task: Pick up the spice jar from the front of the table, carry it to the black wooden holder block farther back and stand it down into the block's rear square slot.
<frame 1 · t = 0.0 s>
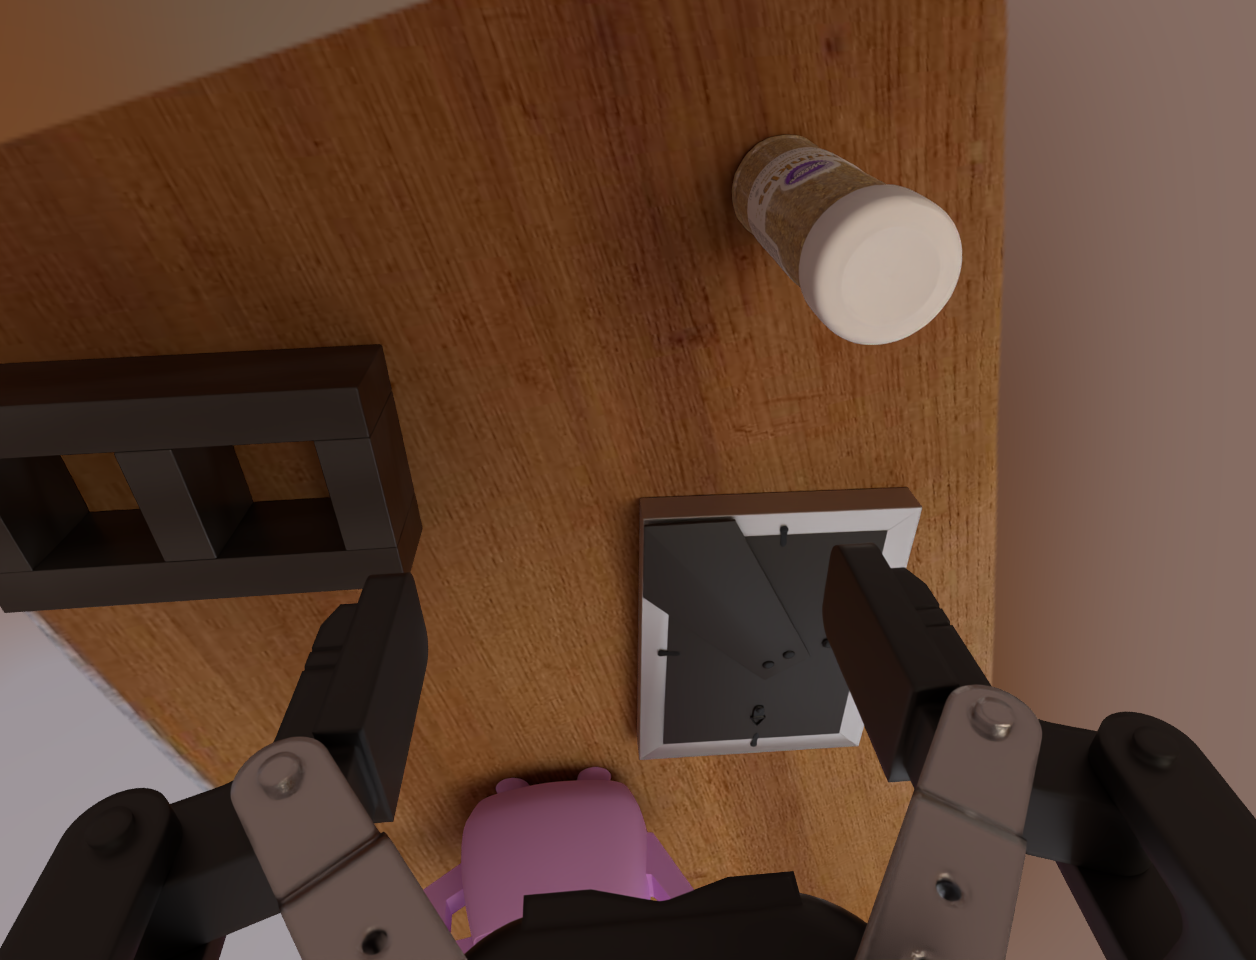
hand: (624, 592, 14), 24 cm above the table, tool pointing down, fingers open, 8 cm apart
picture frame: (757, 622, 47), on the table
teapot: (563, 804, 57), on the table
holder: (211, 454, 38), on the table
spice jar: (777, 187, 33), on the table
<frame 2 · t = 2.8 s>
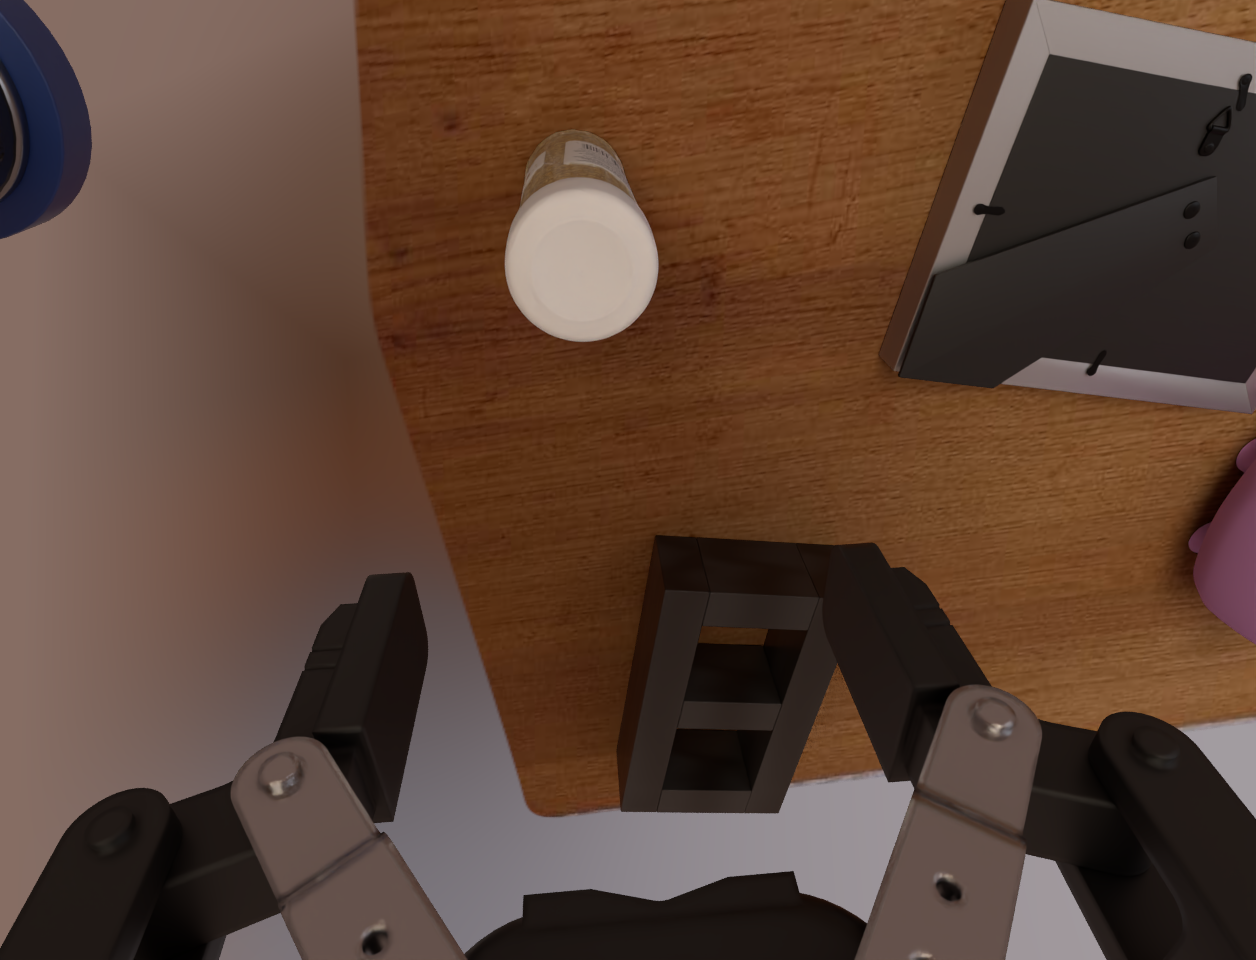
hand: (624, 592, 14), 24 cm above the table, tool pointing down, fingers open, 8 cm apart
picture frame: (1129, 228, 35), on the table
holder: (715, 657, 49), on the table
spice jar: (576, 183, 32), on the table
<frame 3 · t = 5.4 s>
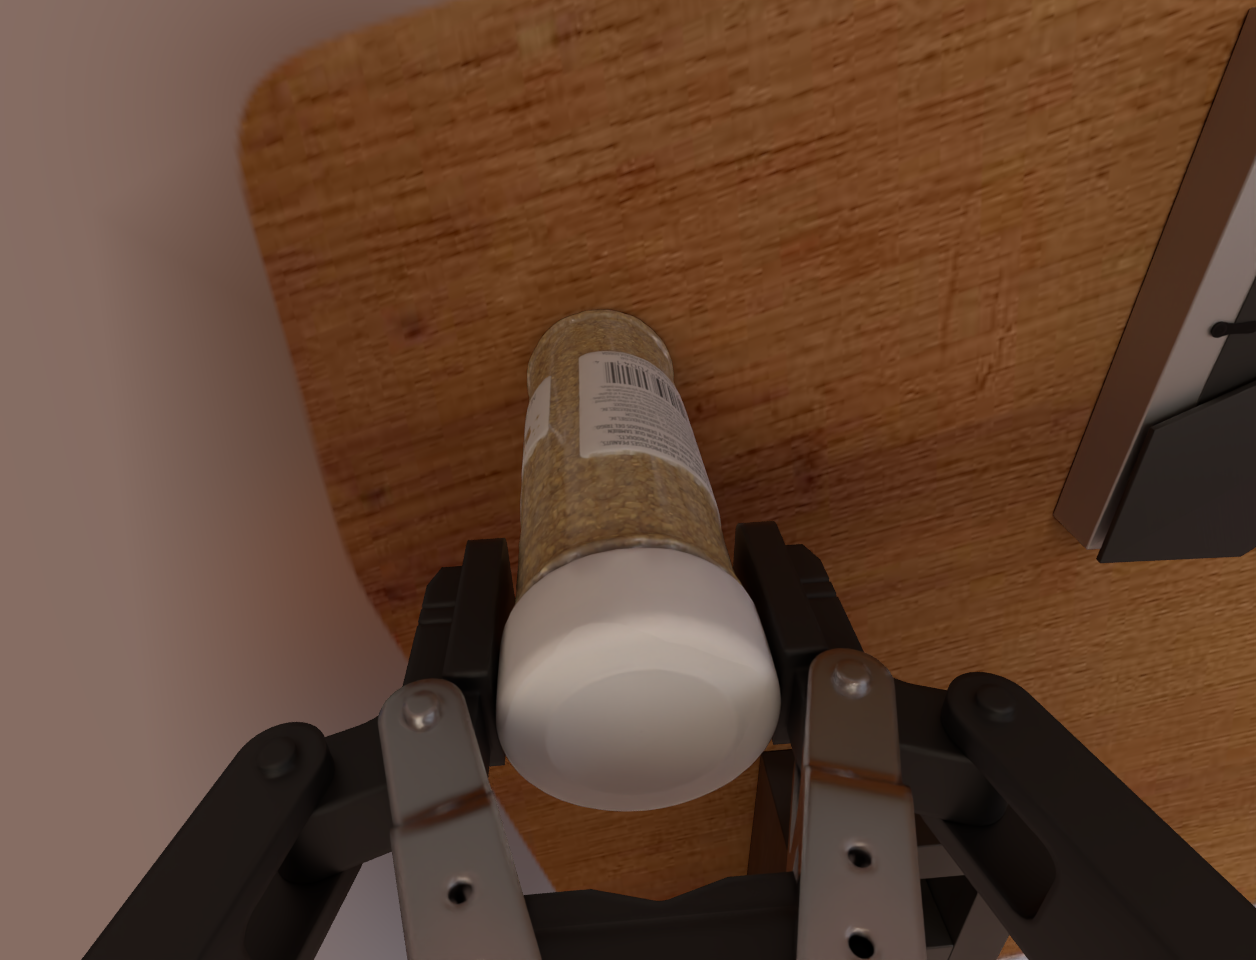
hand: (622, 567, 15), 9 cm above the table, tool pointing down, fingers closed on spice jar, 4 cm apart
holder: (850, 862, 39), on the table
spice jar: (601, 373, 23), on the table, touching gripper
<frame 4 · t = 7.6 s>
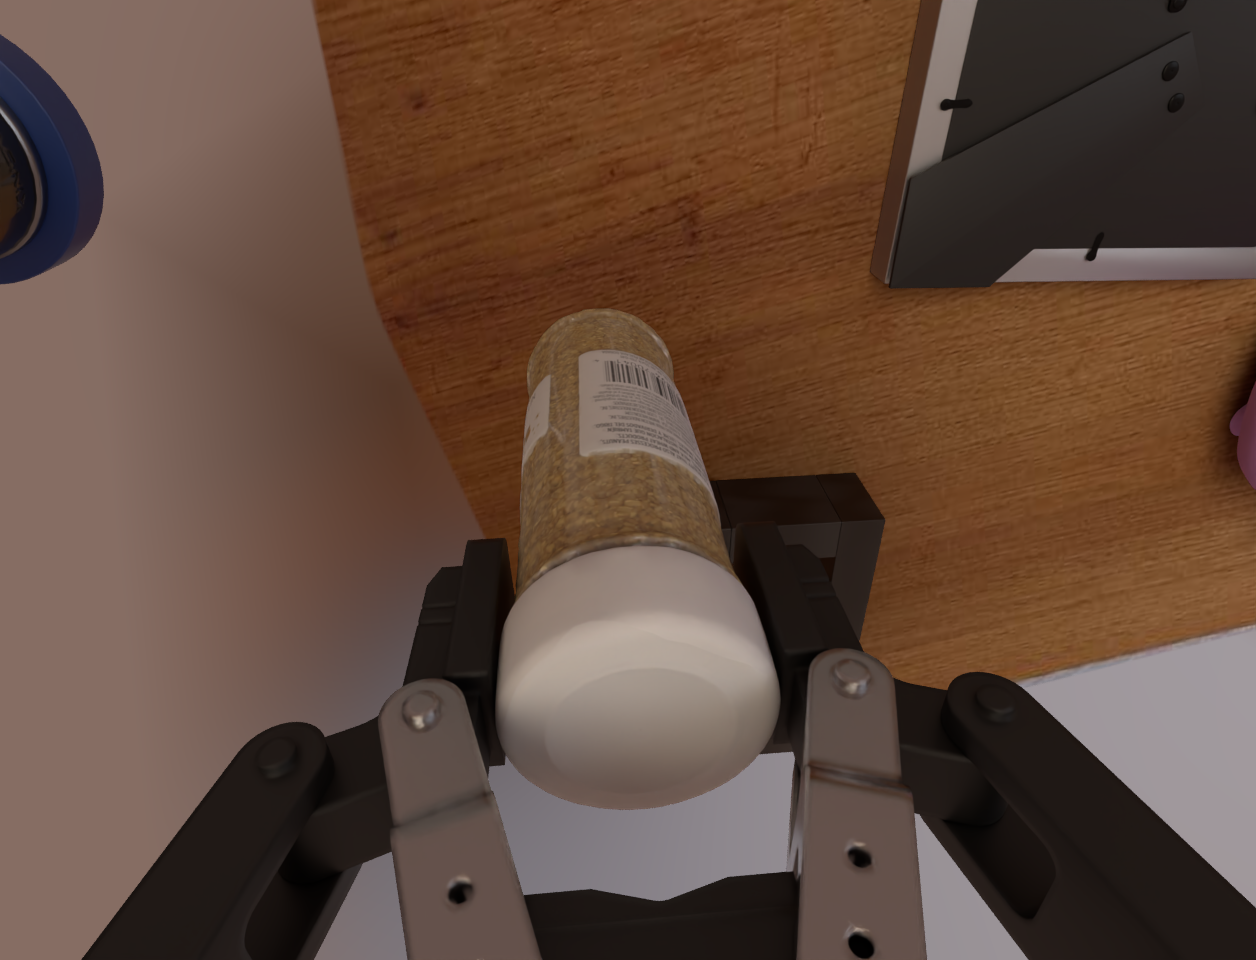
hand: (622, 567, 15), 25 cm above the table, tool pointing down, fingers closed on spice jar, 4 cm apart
picture frame: (1111, 103, 34), on the table
holder: (753, 599, 50), on the table
spice jar: (601, 372, 23), point 16 cm above the table, touching gripper
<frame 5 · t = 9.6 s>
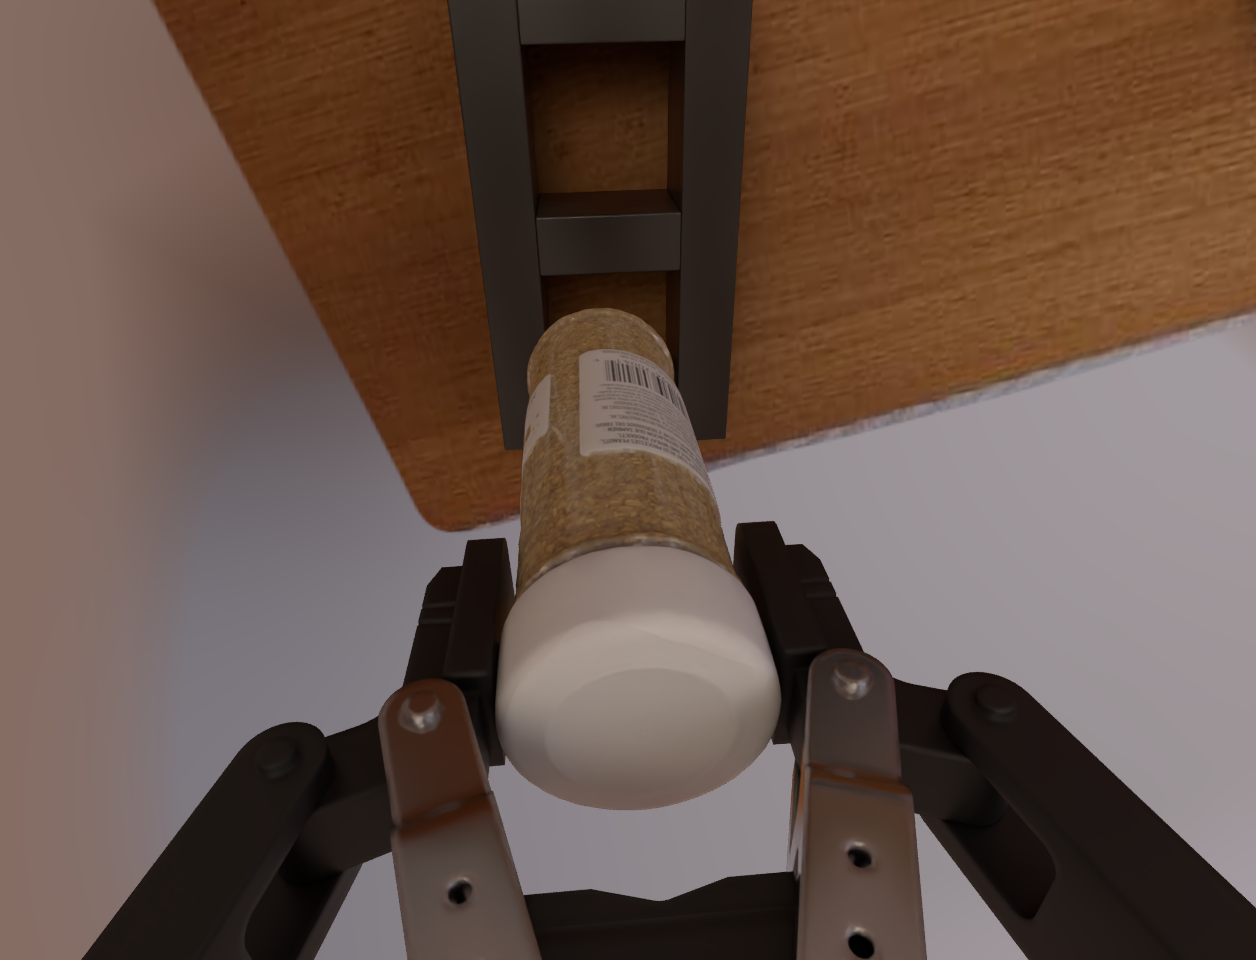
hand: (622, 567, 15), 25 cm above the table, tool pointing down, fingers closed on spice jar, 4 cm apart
holder: (604, 218, 35), on the table
spice jar: (601, 371, 23), point 16 cm above the table, touching gripper
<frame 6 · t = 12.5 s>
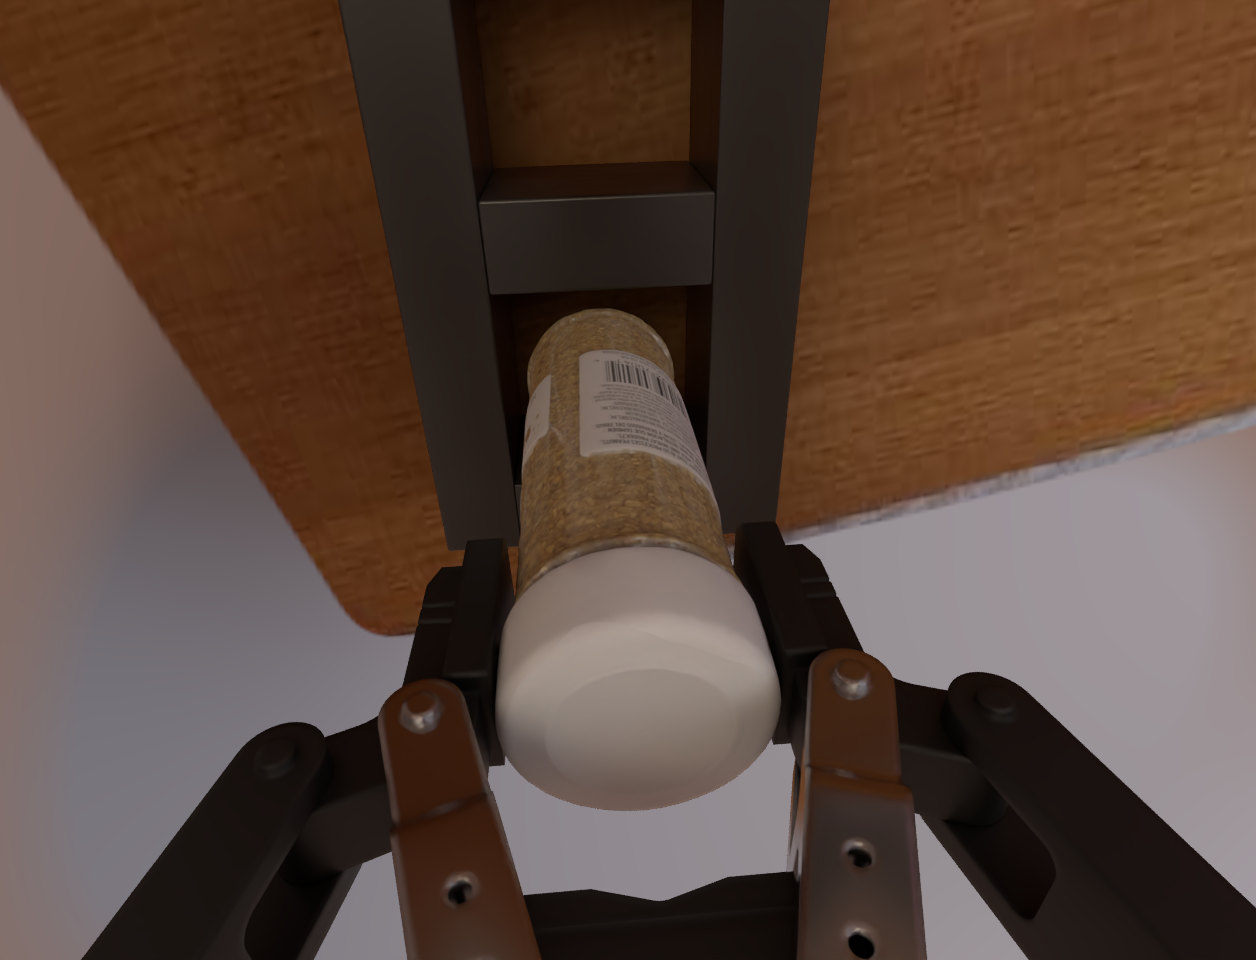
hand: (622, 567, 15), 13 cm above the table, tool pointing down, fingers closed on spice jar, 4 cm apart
holder: (593, 205, 24), on the table
spice jar: (602, 372, 23), point 4 cm above the table, touching gripper
when the fingers open (9 cm above the table, at t = 14.3 s): spice jar stays where it is, resting in holder.
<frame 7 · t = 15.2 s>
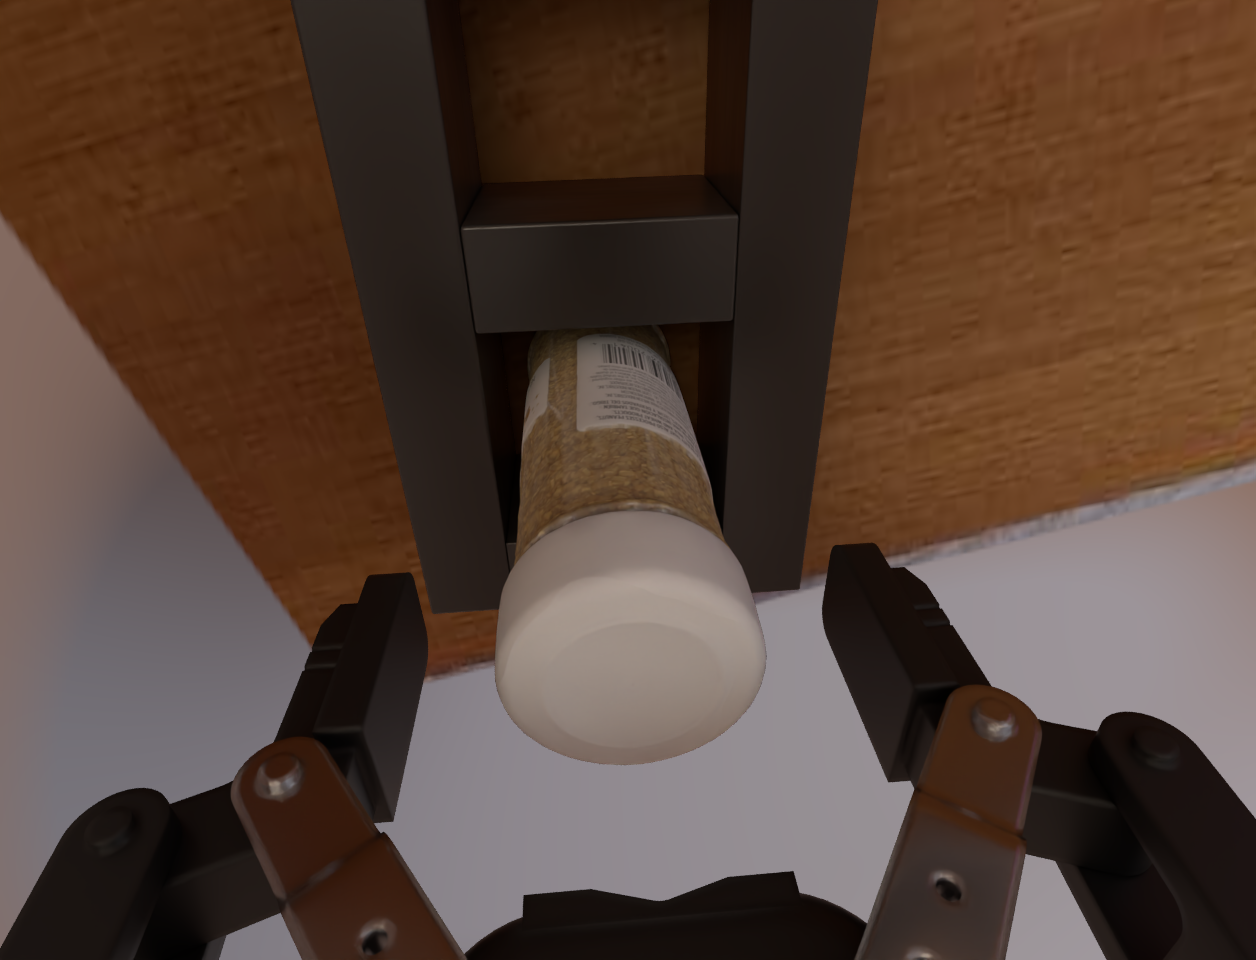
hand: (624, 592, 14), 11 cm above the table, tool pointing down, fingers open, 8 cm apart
holder: (595, 224, 21), on the table
spice jar: (600, 358, 23), resting in holder
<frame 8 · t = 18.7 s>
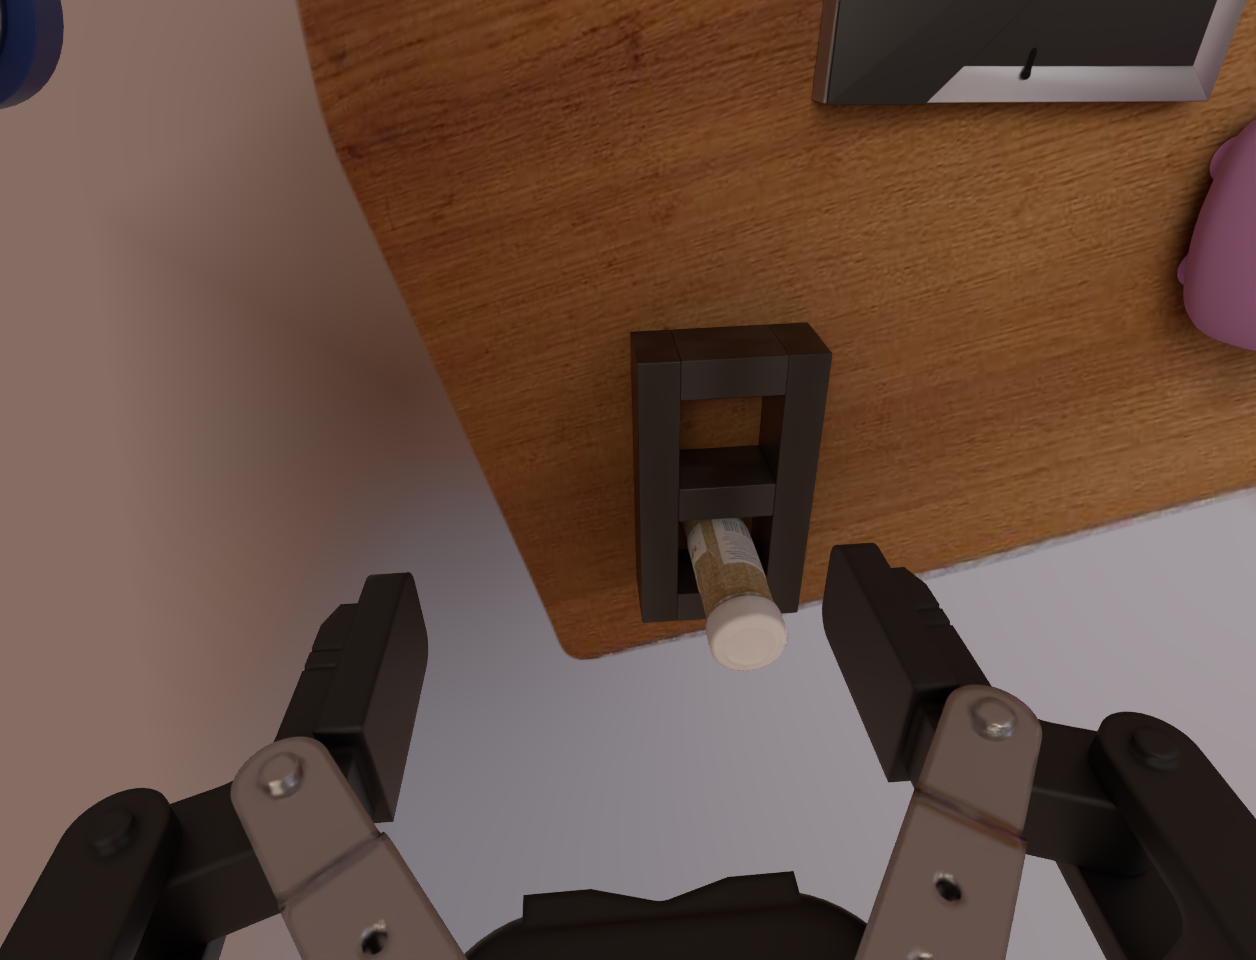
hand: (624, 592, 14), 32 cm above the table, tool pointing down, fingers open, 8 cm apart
holder: (713, 463, 50), on the table
spice jar: (709, 510, 53), resting in holder
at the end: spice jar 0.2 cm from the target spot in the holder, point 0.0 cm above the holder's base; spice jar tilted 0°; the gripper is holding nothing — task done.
